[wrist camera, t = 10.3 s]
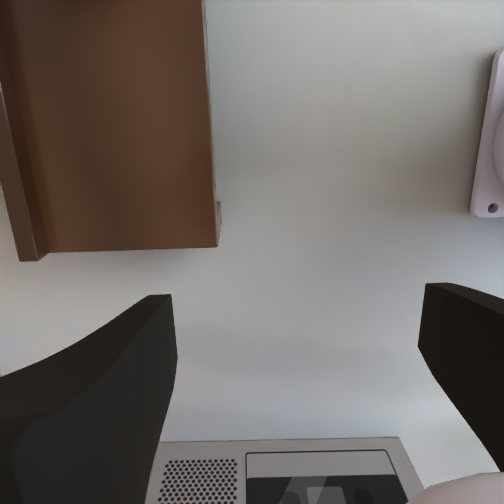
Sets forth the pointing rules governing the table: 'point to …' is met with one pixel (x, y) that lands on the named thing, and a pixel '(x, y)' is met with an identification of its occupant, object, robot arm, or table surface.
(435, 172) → the table surface
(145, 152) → the shelf
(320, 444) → the cassette player
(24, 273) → the table surface
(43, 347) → the table surface
